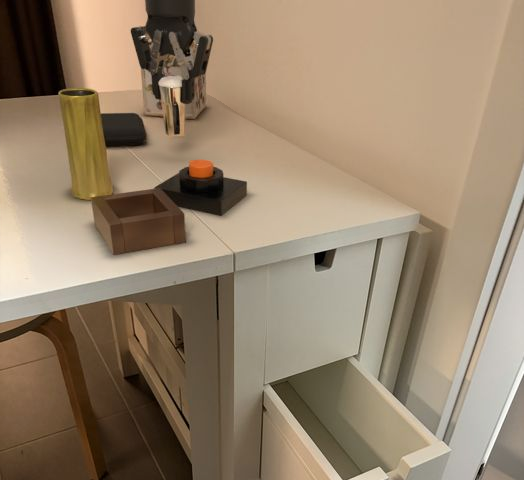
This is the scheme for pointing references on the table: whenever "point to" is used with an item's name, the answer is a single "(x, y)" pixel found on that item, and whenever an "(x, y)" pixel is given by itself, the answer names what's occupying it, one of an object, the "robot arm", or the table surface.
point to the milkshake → (172, 104)
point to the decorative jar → (173, 69)
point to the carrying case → (123, 129)
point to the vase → (85, 143)
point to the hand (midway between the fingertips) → (173, 100)
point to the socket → (138, 220)
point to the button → (201, 168)
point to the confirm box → (204, 191)
